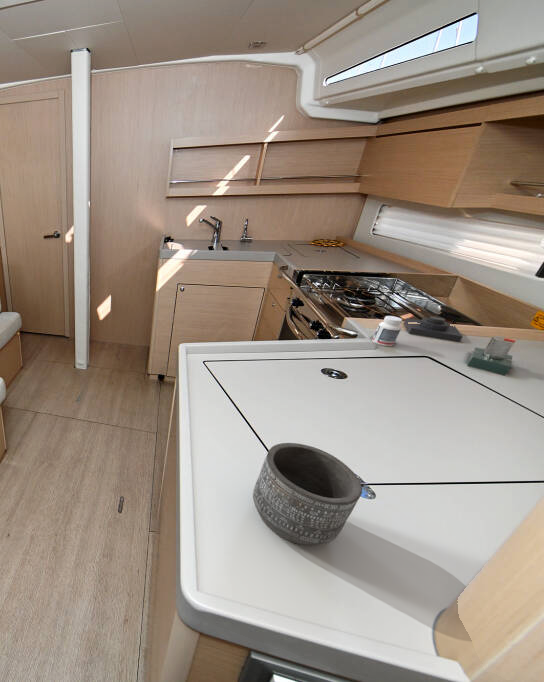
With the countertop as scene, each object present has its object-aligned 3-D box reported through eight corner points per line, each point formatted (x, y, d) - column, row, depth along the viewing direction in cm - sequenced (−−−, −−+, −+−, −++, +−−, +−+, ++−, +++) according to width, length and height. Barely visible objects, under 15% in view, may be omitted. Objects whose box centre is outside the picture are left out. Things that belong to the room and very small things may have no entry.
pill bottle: (397, 346, 114) (410, 321, 109) (381, 346, 114) (393, 321, 110) (382, 338, 118) (394, 314, 114) (367, 339, 118) (378, 315, 114)
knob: (481, 355, 101) (492, 338, 98) (482, 351, 103) (494, 333, 101) (503, 361, 98) (515, 342, 96) (504, 356, 100) (516, 338, 98)
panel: (467, 355, 107) (473, 345, 106) (509, 365, 102) (516, 356, 100) (463, 365, 103) (469, 355, 101) (508, 376, 97) (514, 366, 95)
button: (441, 322, 120) (443, 317, 119) (443, 326, 117) (446, 321, 117) (426, 320, 122) (428, 315, 121) (428, 323, 119) (431, 318, 118)
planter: (258, 547, 57) (281, 493, 51) (240, 487, 68) (257, 436, 62) (346, 566, 54) (381, 511, 48) (313, 500, 65) (339, 448, 59)
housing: (451, 331, 122) (457, 320, 120) (459, 342, 114) (465, 331, 113) (403, 323, 128) (408, 313, 126) (408, 333, 121) (413, 323, 119)
